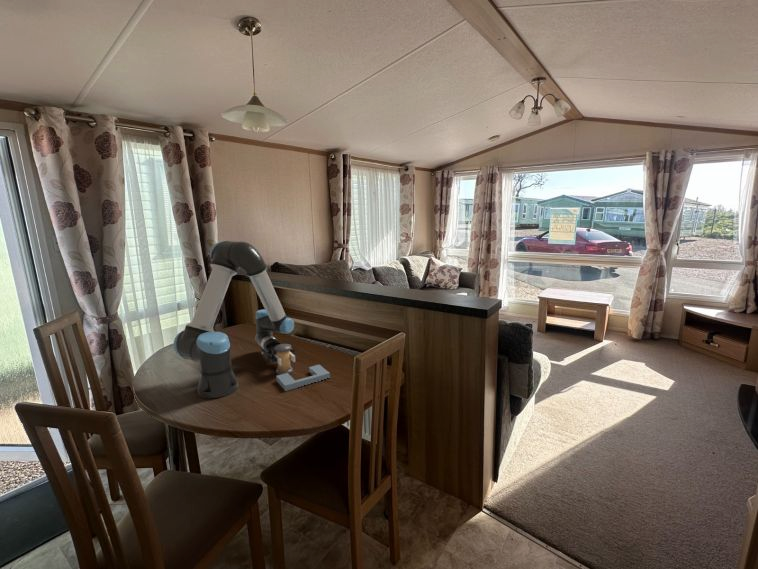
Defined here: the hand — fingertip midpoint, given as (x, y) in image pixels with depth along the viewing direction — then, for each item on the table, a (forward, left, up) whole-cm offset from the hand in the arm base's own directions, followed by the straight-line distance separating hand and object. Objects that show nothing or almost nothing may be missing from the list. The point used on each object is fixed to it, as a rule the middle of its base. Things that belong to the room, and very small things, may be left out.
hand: (287, 360), depth 156 cm
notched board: (+4, -7, -7) cm, 11 cm away
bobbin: (0, +5, -7) cm, 9 cm away
